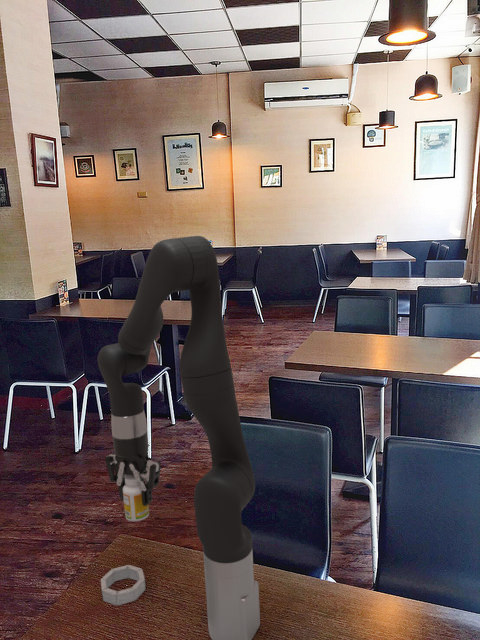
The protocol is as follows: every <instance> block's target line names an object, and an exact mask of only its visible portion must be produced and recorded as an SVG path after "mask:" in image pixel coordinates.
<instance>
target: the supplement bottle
mask: <svg viewBox="0 0 480 640" xmlns="http://www.w3.org/2000/svg"><path fill="white" fill-rule="evenodd" d="M142 475H143V473H142V474H140V476H142ZM145 484H146V482H145ZM123 498H124V501H123V508H124V515H125V519H126V520H127V521H129V522H140V521H144V520H145V519H147V517H149V515H150V507H149V505H150V504H148V505H147V506H144V505H143V502H142V488H141V486H140V484H139V482H137V481H136V478H135V476H132V475H126V476H125V485H124V487H123Z"/></svg>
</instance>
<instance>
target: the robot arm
mask: <svg viewBox="0 0 480 640" xmlns="http://www.w3.org/2000/svg"><path fill="white" fill-rule="evenodd" d="M218 265H219V264H218V259H217V255H216V251H215V249H214V247H213V245H212V243H211V242H210V240H208V239H207V238H206V237H205V236H202V235H191V236H181V237H174V238H167V239H163V240H160V241H158V242H156V243H155V244H154V246H153V247H152V248H151V249H150V251H149V254H148V257H147V259H146V262H145V265H144V269H143V272H142V275H141V279H140V282H139V286H138V288H137V289H138V290H137V294H136V296H135V301H134V303H133V305H132V308H131V310H130V312H129V314H128V316H127V318H126V319H125V321H124V322H123V325H122V327H121V328H120V330H119V333H118V336H117V339H118V340H117V341H118V343H112V344H107V345H104V346H103V347H101V349H100V350H99V352H98V355H97V366H98V368H99V371H100V373H101V376H102V378H103V381H104V383H105V385H106V388H107V391H108V395H109V403H110V412H111V413H110V414H111V434H112V445H113V452H112V453H111V454H109V455H107V456H105V458H104V461H105V464H106V468H107V472H108V475H109V481H110V482H112V483H114V482H115V483H116V485H117V486H118V493H119V495H118V496H119V498H120V500H121V501H123V502H124V498H123V487H124V485H125V476H126V475H132V476H135V478H136V481H137V482H139V484H140V486H141V488H142V502H143V505H144V506H147V505H150V503H152V501H153V491H152V490H154V489H155V488H156V487H157V486H158V485H159V484H160V474H161V473H160V472H161V465H162V463H161V461H160V460H157V461H152V460H151V459H150V457H149V455H148V450H149V439H148V428H147V426H148V425H147V419H146V413H145V406H144V404H145V403H144V394H143V389H142V386H141V385H140V384H138V383H134V382H123V380H122V376H127V375H131V374H134V373H138V372H141V371H142V370H143V369H146V366H148V364H149V360H150V354H151V348H152V345H153V344H154V342H155V341H156V339H157V338H158V336H159V335H160V333H161V331H162V328H163V326H164V313H163V309H162V304H163V302H165V301H166V299H167V298H169V296H170V295H171V294H173V293H180V292H185V291H189V298H190V299H189V300H190V306H191V315H190V316H191V317H190V322H189V323H190V324H189V328H188V332H187V334H186V338H185V340H184V344H183V347H182V350H181V355H180V359H179V374H180V379H181V384H182V389H183V396H184V399H185V402H186V404H187V407H188V408H189V411H190V412H191V413H192V415H193V417H194V418H195V420H196V421H197V422H198V423H199V425H200V426H201V428H202V429H203V430H204V432H205V434H206V437H207V440H208V446H209V449H210V456H211V469H209V470H208V472H206V473H204V475H203V476H202V477H201V478H200V479H199V480H198V481H197V482H196V485H195V487H194V491H193V492H194V494H193V506H194V514H195V522H196V531H197V536H198V538H199V541H200V543H201V545H202V552H203V555H202V556H203V566H204V567H203V569H204V581H205V582H204V583H205V596H206V597H205V599H206V612H207V625H208V635H209V637H210V638H211V640H253V638H254V636H255V635H256V633H257V631H258V630H259V628H260V626H261V612H260V611H261V610H260V594H259V593H260V591H259V590H260V589H259V581H258V580H255V578H254V575H255V574H254V557H253V556H254V555H253V537H252V536H253V535H252V533H251V531H250V529H249V528H248V527H247V526H246V525H244V524H243V523H242V511H243V510H244V509H245V508H246V506H247V505H248V504H249V503H250V502H251V500H252V498H253V497H254V494H255V491H256V479H255V475H254V474H255V473H254V470H253V467H252V463H251V460H250V456H249V453H248V449H247V446H246V443H245V439H244V438H245V437H244V435H243V430H242V424H241V419H240V413H239V408H238V407H239V406H238V402H237V396H236V390H235V383H234V381H235V380H234V376H233V370H232V365H231V361H230V356H229V351H228V345H227V338H226V333H225V332H226V331H225V327H224V326H225V325H224V318H223V309H222V300H221V299H222V297H221V286H220V283H221V282H220V274H219V273H220V272H219V266H218ZM140 474H143V475H142V476H140ZM145 483H146V484H145Z"/></svg>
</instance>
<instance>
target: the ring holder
mask: <svg viewBox="0 0 480 640" xmlns="http://www.w3.org/2000/svg"><path fill="white" fill-rule="evenodd" d="M125 579H131V580H134V581H136V582H135V584H133V586H132V587H129V588H125V589H121V590H118V591H117V590H114V589H111V586H112V585H113V584H114V583H115V582H117V581H122V580H125ZM100 587H101V597H102V601H103V602H105V603H108V604H111V605H113V606H116V607H117V606H122V605H125V604H129V603H132V602H135V601H137V599H139V597H140V596H141V595H142V594H143V593H144V591H146V579H145V574H144V571H143V568H140V567H138V566H135V565H131V564H127V565H122V566H118V567H115V568H112V569H110V570H109V571H108V572H107V573H106V574H104V575H103V577H101V579H100Z"/></svg>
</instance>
